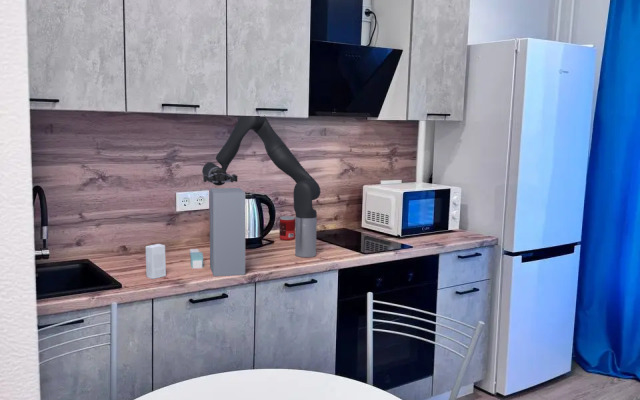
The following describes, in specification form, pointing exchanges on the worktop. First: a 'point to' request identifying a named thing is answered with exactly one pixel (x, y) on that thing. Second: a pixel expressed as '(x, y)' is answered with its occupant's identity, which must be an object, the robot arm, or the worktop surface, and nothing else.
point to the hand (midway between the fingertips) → (222, 179)
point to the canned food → (287, 228)
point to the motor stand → (227, 231)
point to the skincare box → (155, 261)
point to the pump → (196, 258)
